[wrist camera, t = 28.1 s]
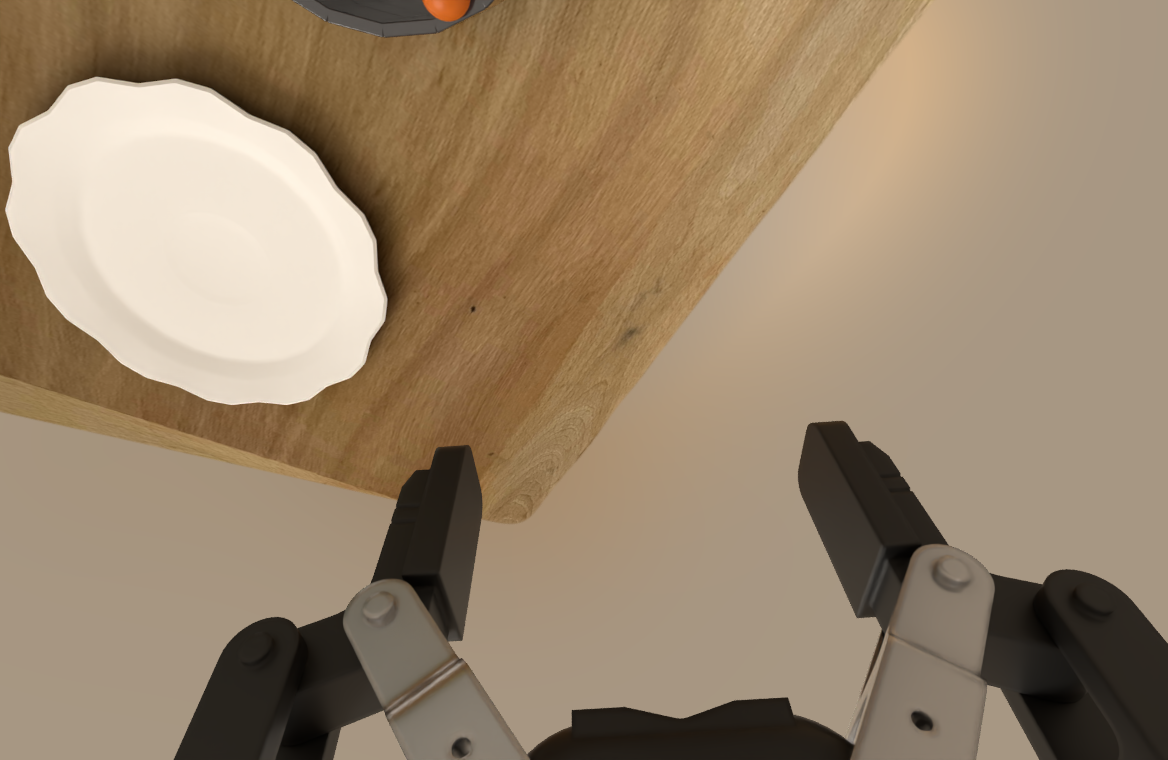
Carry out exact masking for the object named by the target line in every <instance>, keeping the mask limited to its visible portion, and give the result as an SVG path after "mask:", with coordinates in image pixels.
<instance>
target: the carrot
mask: <svg viewBox="0 0 1168 760" xmlns="http://www.w3.org/2000/svg"><path fill="white" fill-rule="evenodd" d="M422 1H423V3H424V5H425V7H426V9H427V10H428V11H429V12H430V13H431V14H432V15H433V16H434V17H436V18H437V19H440V20H442V21H447V22H450V21H455V20H458V19H459V18H461V17H462V16H463V15H464V14H465V13H466V11H467V10H468V8H469V5H470V0H422Z"/></svg>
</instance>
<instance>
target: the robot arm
mask: <svg viewBox="0 0 1168 760" xmlns="http://www.w3.org/2000/svg"><path fill="white" fill-rule="evenodd" d="M798 482H799V488H800V492H801V495H802V498H803V500H804V502H805V504H806V506H807V509H808V511H809V513H810V515H811V517H812V520H813V522H814V524H815V526H816V528H817V531H818V533H819V535H820V537H821V539H822V542H823V544H824V546H825V548H826V551H827V553H828V555H829V557H830V559H831V562H832V564H833V566H834V568H835V570H836V573H837V575H838V577H839V579H840V582H841V584H842V586H843V588H844V591H845V593H846V595H847V597H848V599H849V602H850V604H851V606H852V608H853V610H854V613H855V615H856V617H857V618H864V617H876V618H877V620H878V622H879V624H880V626H881V628H882V630H881V632H880V634H879V637H878V640H877V643H876V646H875V649H874V652H873V655H872V658H871V661H870V665H869V668H868V671H867V674H866V677H865V681H864V683H863V686H862V689H861V692H860V695H859V699H858V702H857V705H856V708H855V710H854V713H853V716H852V719H851V722H850V724H849V727H848V730H847V732H846V735H845V738H844V737H842V736H841V735H839V734H838V733H836V732H834V731H833V730H831V729H829V728H828V727H826V726H823V725H821V724H819V723H817V722H815V721H813V720H810V719H807V718H804V717H801V716H796V715H793V713H792V709H791V706H790V703H789V700H788V698H770V699H753V700H736V701H732V702H729V703H727V704H724V705H721V706H718V707H715V708H712V709H710V710H707V711H705V712H701V713H699V714H696V715H693V716H690V717H688V718H684V719H679V718H672V717H668V716H663V715H659V714H654V713H650V712H645V711H640V710H636V709H631V708H626V707H619V708H603V709H602V708H601V709H584V710H572V727H569V728H566V729H563V730H561V731H559V732H557V733H555V734H553V735H551V736H550V737H548V738H547V739H545V740H544V741H542V742H541V743H540V744H538V745H537V746H536V747H535V748H534V749H533V750H532V751H530V752H529V753H528V754H526V752H525V751H524V749H523V748H522V746H521V745H520V743H519V742H518V740H517V739H516V737H515V736H514V734H513V733H512V731H511V729H510V728H509V727H508V725H507V724H506V722H505V720H504V719H503V718H502V716H501V714H500V713H499V711H498V710H497V708H496V707H495V705H494V704H493V702H492V701H491V699H490V698H489V696H488V694H487V693H486V691H485V690H484V688H483V687H482V685H481V684H480V682H479V681H478V679H477V678H476V676H475V675H474V673H473V672H472V670H471V669H470V667H469V666H468V664H467V663H466V662H465V661H464V660H463V659H462V658H461V659H459V658H458V656H457V655H456V654H455V652H454V651H453V649H452V647H451V646H450V644H449V643H448V641H462V639H463V633H464V626H465V620H466V614H467V607H468V601H469V594H470V588H471V582H472V575H473V569H474V563H475V556H476V550H477V544H478V537H479V531H480V524H481V518H482V493H481V488H480V483H479V479H478V475H477V471H476V467H475V463H474V459H473V455H472V451H471V448H470V446H469V445H463V446H448V447H438V448H437V449H436V451H435V454H434V457H433V461H432V465H431V468H430V470H416V471H415V472H414V473H413V474H412V476H411V477H410V478H409V479H408V480H407V482H406V483H405V484H404V485H403V486H402V489H401V492H400V495H399V498H398V501H397V504H396V509H395V511H394V514H393V517H392V520H391V521H392V523H391V524H390V526H389V529H388V532H387V535H386V539H385V541H384V545H383V548H382V551H381V554H380V557H379V560H378V563H377V567H376V569H375V573H374V576H373V579H372V581H371V584H370V585H368V586H366V587H365V588H363V589H362V590H361V591H360V592H358V593H357V594H356V595H355V597H353V599H352V600H351V601H350V603H349V604H348V606H347V608H346V610H344V611H342V612H340V613H338V614H336V615H333V616H331V617H328V618H325V619H322V620H320V621H317V622H314V623H311V624H308V625H306V626H303V627H300V628H296V626H295V625H294V624H293V622H291V621H290V620H288V619H285V618H281V617H271V618H266V619H263V620H260V621H257V622H255V623H253V624H251V625H249V626H248V627H246V628H244V629H243V630H242V631H240V632H239V633H238V634H237V635H236V636H235V637H234V638H233V639H232V640H231V641H230V642H229V643H228V644H227V646H226V647H225V649H224V650H223V652H222V654H221V656H220V658H219V660H218V662H217V664H216V667H215V669H214V671H213V673H212V675H211V678H210V680H209V682H208V684H207V687H206V689H205V691H204V693H203V695H202V698H201V700H200V702H199V704H198V707H197V709H196V711H195V713H194V716H193V718H192V720H191V722H190V724H189V727H188V729H187V731H186V733H185V736H184V738H183V740H182V743H181V745H180V747H179V749H178V751H177V754H176V756H175V758H174V760H333V758H334V754H335V750H336V746H337V742H338V738H339V733H340V730H341V727H343V726H346V725H348V724H351V723H353V722H356V721H358V720H361V719H363V718H366V717H368V716H370V715H373V714H376V713H378V712H380V711H383V710H384V712H385V715H386V717H387V720H388V722H389V724H390V726H391V728H392V730H393V732H394V734H395V736H396V738H397V740H398V743H399V745H400V747H401V749H402V751H403V753H404V755H405V757H406V759H407V760H976V756H977V750H978V743H979V738H980V731H981V725H982V718H983V712H984V706H985V699H986V693H987V685H990V686H994V687H998V688H1001V690H1002V692H1003V694H1004V696H1005V697H1006V699H1007V701H1008V703H1009V705H1010V707H1011V708H1012V710H1013V712H1014V714H1015V716H1016V718H1017V719H1018V721H1019V723H1020V725H1021V727H1022V729H1023V730H1024V732H1025V734H1026V736H1027V738H1028V740H1029V741H1030V743H1031V745H1032V747H1033V749H1034V750H1035V752H1036V754H1037V756H1038V758H1039V760H1168V643H1167V642H1166V641H1165V640H1164V639H1163V637H1162V636H1161V635H1160V634H1159V633H1158V631H1157V630H1156V629H1155V628H1154V627H1153V625H1152V624H1151V623H1150V622H1149V621H1148V620H1147V618H1146V617H1145V616H1144V615H1143V613H1142V612H1141V611H1140V610H1139V609H1138V607H1137V606H1136V605H1135V604H1134V602H1133V601H1132V600H1131V599H1130V598H1129V597H1128V596H1127V595H1126V594H1125V593H1123V592H1122V591H1121V590H1120V589H1118V588H1117V587H1116V586H1114V585H1113V584H1111V583H1109V582H1107V581H1106V580H1104V579H1102V578H1099V577H1097V576H1095V575H1092V574H1090V573H1086V572H1082V571H1077V570H1067V569H1066V570H1059V571H1055V572H1053V573H1051V574H1050V575H1049V576H1048V577H1047V578H1046V580H1045V581H1044V583H1043V584H1037V583H1032V582H1028V581H1022V580H1017V579H1013V578H1007V577H1003V576H998V575H994V574H991V573H989V572H988V570H987V569H986V568H985V567H984V566H983V565H982V564H981V563H980V562H979V561H978V560H977V559H975V558H973V556H971V555H969V554H968V553H966V552H964V551H962V550H960V549H957V548H954V547H951V546H949V545H948V544H947V542H946V541H945V539H944V538H943V536H942V535H941V533H940V532H939V530H938V529H937V527H936V526H935V524H934V523H933V521H932V520H931V518H930V517H929V515H928V514H927V512H926V511H925V509H924V508H923V506H922V505H921V503H920V502H919V500H918V499H917V497H916V496H915V495H914V493H913V492H912V491H910V487H909V485H908V484H907V482H906V481H905V479H904V478H903V477H901V476H900V472H899V470H898V469H897V468H896V466H895V465H894V463H893V462H892V460H891V459H890V457H889V456H888V455H887V454H886V453H884V452H883V451H881V450H880V449H879V448H878V447H876V446H875V445H874V444H873V443H871V442H870V441H865V442H858V440H857V439H856V437H855V436H854V434H853V432H852V431H851V429H850V427H849V426H848V424H847V423H846V422H844V421H832V422H818V423H810V424H809V425H808V427H807V430H806V435H805V440H804V445H803V449H802V455H801V459H800V465H799V469H798Z"/></svg>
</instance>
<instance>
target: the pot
mask: <svg viewBox="0 0 1168 760" xmlns="http://www.w3.org/2000/svg"><path fill="white" fill-rule="evenodd" d="M292 1H294V2H296V3H297V4H299V5H300V6H302V7H303V8H305V9H307V10H308V11H310V12H311V13H313V14H315V15H316V16H318V17H319V18H321V19H323V20H324V21H326V22H328V23H331V24H335V25H339V26H342V27H346V28H350V29H353V30H357V31H361V32H364V33H368V34H372V35H375V36H379V37H385V38H388V37H400V36H412V35H424V34H436V33H440V32H442V31H444V30H446V29H448V28H451V27H453V26H455V25H457V24H459V23H462V22H464V21H466V20H468V19H470V18H472V17H474V16H476V15H478V14H480V13H482V12H484V11H486V10H488V9H490V8H492V7H494V6H496V5H498V4H500V3H502V2H503V1H504V0H470V5H469V8H468V10H467V11H466V13H465V14H464V15H463V16H462V17H461V18H459V19H458V20H455V21H450V22H447V21H442V20H440V19H437V18H436V17H434V16H433V15H432V14H431V13H430V12H429V11H428V10H427V9H426V7H425V5H424V3H423V1H422V0H292Z"/></svg>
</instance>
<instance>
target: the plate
mask: <svg viewBox="0 0 1168 760" xmlns="http://www.w3.org/2000/svg"><path fill="white" fill-rule="evenodd" d="M8 149H9V157H10V166H11V174H12V186H11V190H10V194H9V198H8V202H7V205H6V209H5V210H6V214H7V218H8V221H9V225H10V228H11V232H12V236H13V238H14V239H15V240H16V242H17V243H18V245H19V246H20V247H21V249H22V250H23V252H24V253H25V255H26V256H27V257H28V259H29V260H30V262H31V263H32V264H33V266H34V267H35V269H36V271H37V274H38V276H39V279H40V281H41V284H42V286H43V288H44V291H45V293H46V296H47V297H48V299H49V300H50V301H51V302H52V303H53V304H54V305H55V307H56V308H57V309H58V310H59V311H60V312H61V313H62V315H63V316H64V317H65V318H66V319H67V320H68V321H70V322H71V323H73V324H74V325H76V326H77V327H79V328H80V329H82V330H83V331H84V332H86V333H87V334H89V335H90V336H92V337H93V338H95V339H96V340H98V341H99V342H100V343H101V344H102V345H103V346H104V347H105V348H106V349H107V350H108V351H109V352H110V353H111V354H112V355H113V356H114V357H115V358H116V359H117V360H118V361H119V362H120V363H121V364H123V365H125V366H127V367H128V368H130V369H132V370H134V371H135V372H137V373H139V374H141V375H143V376H144V377H146V378H149V379H153V380H156V381H160V382H164V383H167V384H171V385H174V386H178V387H180V388H182V389H184V390H186V391H188V392H191V393H193V394H195V395H197V396H199V397H201V398H203V399H205V400H208V401H214V402H219V403H224V404H230V405H236V404H245V403H254V402H264V403H274V404H284V405H289V404H293V403H298V402H302V401H307V400H309V399H311V398H312V397H313V396H315V395H316V394H318V393H319V392H320V391H322V390H323V389H324V388H326V387H327V386H329V385H332V384H335V383H338V382H341V381H343V380H346V379H349V378H351V377H352V376H353V375H354V374H355V373H356V372H357V371H358V370H359V369H360V368H361V367H362V366H363V365H364V364H365V362H366V358H367V354H368V350H369V347H370V343H371V340H372V339H373V337H374V336H375V335H376V333H377V332H378V330H379V329H380V327H381V326H382V325H383V323H384V322H385V319H386V310H387V301H388V297H387V294H386V291H385V288H384V285H383V282H382V279H381V276H380V273H379V270H378V253H377V239H376V237H375V235H374V233H373V231H372V228H371V226H370V224H369V222H368V220H367V218H366V216H365V214H364V213H363V212H362V211H361V210H360V209H359V208H358V206H357V205H356V204H355V203H354V202H353V201H352V200H351V199H350V198H349V197H348V196H347V195H346V194H345V193H344V192H343V191H342V190H341V189H340V188H339V187H338V186H337V184H336V183H335V181H334V180H333V178H332V176H331V175H330V173H329V172H328V170H327V168H326V167H325V165H324V164H323V162H322V160H321V159H320V157H319V156H318V154H317V153H316V152H315V151H314V150H313V149H312V148H310V147H309V146H308V145H307V144H306V143H304V142H303V141H302V140H301V139H300V138H298V137H297V136H296V135H295V134H294V133H293V132H291V131H290V130H288V129H286V128H284V127H281V126H279V125H276V124H274V123H271V122H269V121H266V120H264V119H261V118H259V117H256V116H254V115H251V114H250V113H248V112H247V111H245V110H244V109H242V108H241V107H239V106H238V105H236V104H235V103H233V102H232V101H230V100H229V99H228V98H226V97H225V96H223V95H222V94H220V93H219V92H217V91H216V90H214V89H213V88H210V87H206V86H203V85H199V84H196V83H192V82H189V81H185V80H182V79H178V78H176V79H169V80H161V81H153V82H146V83H136V82H130V81H123V80H117V79H111V78H105V77H94V78H91V79H87V80H84V81H81V82H77V83H74V84H71V85H68V86H67V87H66V88H65V90H64V91H63V92H62V94H61V95H60V96H59V97H58V99H57V100H56V101H55V102H54V104H53V105H52V106H51V107H50V109H49V110H48V111H46V112H44V113H42V114H40V115H38V116H36V117H34V118H32V119H30V120H29V121H27V122H25V123H23V124H21V125H19V127H18V129H17V131H16V133H15V135H14V137H13V140H12V142H11V144H10V146H9V148H8Z"/></svg>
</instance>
